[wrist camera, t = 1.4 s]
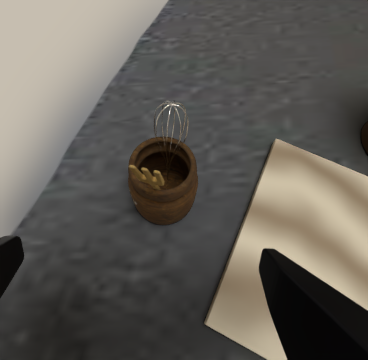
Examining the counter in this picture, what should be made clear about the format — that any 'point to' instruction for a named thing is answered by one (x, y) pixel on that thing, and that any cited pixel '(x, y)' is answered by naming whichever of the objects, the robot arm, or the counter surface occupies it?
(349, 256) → the birch board
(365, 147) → the olive oil
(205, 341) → the counter surface
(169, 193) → the utensil holder
